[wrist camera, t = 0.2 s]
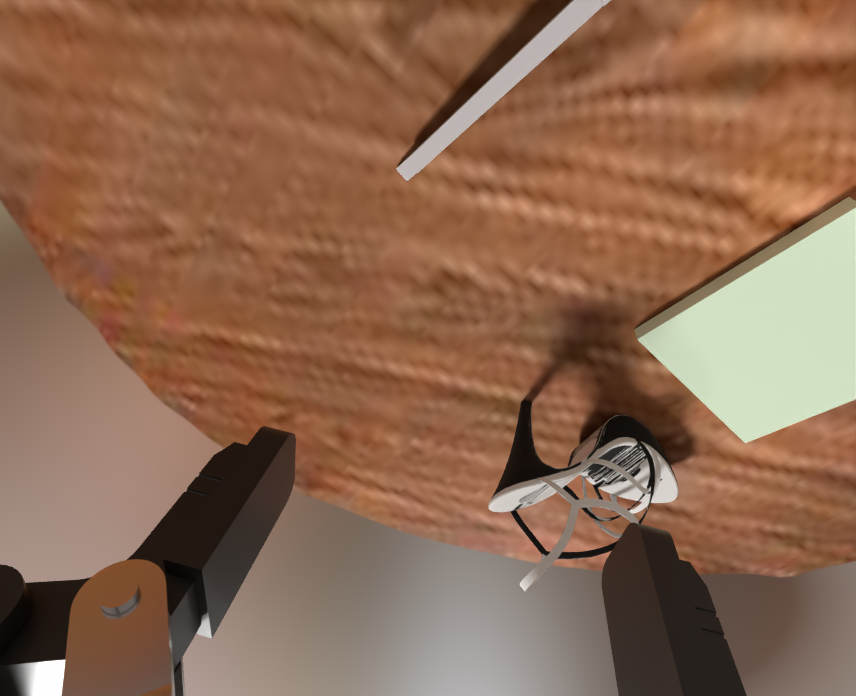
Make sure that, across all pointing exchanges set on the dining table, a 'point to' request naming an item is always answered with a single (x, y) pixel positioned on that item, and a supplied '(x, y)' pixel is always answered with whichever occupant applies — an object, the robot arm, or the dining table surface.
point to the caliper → (502, 82)
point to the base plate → (770, 330)
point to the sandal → (596, 461)
